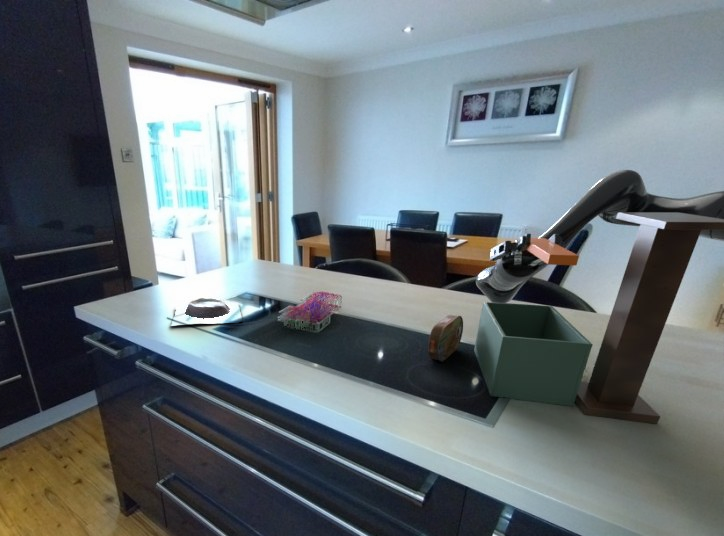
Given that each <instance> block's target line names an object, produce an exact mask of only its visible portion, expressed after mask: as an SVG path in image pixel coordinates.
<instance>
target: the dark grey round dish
mask: <svg viewBox="0 0 724 536" xmlns="http://www.w3.org/2000/svg"><path fill="white" fill-rule="evenodd" d="M225 303H226V302H224V301H223V300H221V299H217V298H204V297H200V298H197V299H193V300H190V302H189V303H188V304H187V305H188V307H187V309H186V312H185V314H186V315H189V316H191V317H197V318H203V319H204V318H214V317H219V316H223V315H225V314H228V313H229V312H230V311H229V310H230V308H229V307H228V306H227V305H226V304H225Z"/></svg>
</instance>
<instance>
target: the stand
mask: <svg viewBox="0 0 724 536" xmlns="http://www.w3.org/2000/svg"><path fill="white" fill-rule="evenodd" d="M616 219H620V220H624V221H629V222H633V223H638V224H640V227H639V226H638V229H637V233H636V236H635V239H634V243H633V246H632V247H631V252H630V255H629V258H628V261H627V264H626V267H625V270H624V273H623V276H622V279H621V282H620V285H619V288H618V292H617V294H616V298H615V301H614V304H613V306H612V307H613V308H612V310H611V314H610V316H609V319H608V322H607V326H606V329H605V332H604V335H603V338H602V341H601V345H600V348H599V350H598V353H597V356H596V360H595V363H594V366H593V369H592V372H591V375H590V378H589V381H583V380H581V383H580V386H579V389H578V393H577V396H576V399H575V401H574V403H576V405H577V407H579V409H580V410H581V412H582V413H583V415H586V416H592V417H600V418H608V419H616V420H621V421H622V420H623V421H630V422H639V423H647V424H653V425H658V423H659V421H660V419H661V415H660V414H659V413H658V412H657V411H655V410H654V409H653V408H652V406H650V405H649V404H648V403H647V402H646V401H645V399H643V398H642V396H640V395H639V393H640V392H641V388H642V386H643V383H644V381H645V378H646V376H647V373H648V370H649V368H650V365H651V362H652V359H653V357H654V354H655V351H656V349H657V347H658V344H659V342H660V339H661V336H662V334H663V332H664V329H665V326H666V323H667V321H668V318H669V316H670V313H671V310H672V307H673V305H674V302H675V300H676V298H677V294H678V292H679V290H680V287H681V284H682V282H683V279H684V277H685V274H686V271H687V269H688V266H689V263H690V261H691V259H692V256H693V254H694V251H695V248H696V245H697V242H698V240H699V238H700V236H699V235H700V232H701V230H724V219H719V218H712V217H705V216H699V215H692V214H685V213H669V212H618V214H617V217H616Z"/></svg>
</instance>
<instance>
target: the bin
mask: <svg viewBox="0 0 724 536" xmlns="http://www.w3.org/2000/svg"><path fill="white" fill-rule="evenodd" d="M593 346H594V345H593V343H592V342H590V341H589V339H587V338H586V337H585V335H583V333H581V332H580V331H579V330H578V329H577V328H576V327H575V326H574V325H573V324H572V323H571V322H569V320H567V319H566V317H564V316H563V314H561V313H560V312H559V311H558V310H557V309H556V308H555V307H554V306H553V305H542V304H528V303H526V304H525V303H513V302H512V303H510V302H508V303H495V302H491V301H483V302H482V305H481V311H480V318H479V322H478V328H477V333H476V338H475V344H474V349H473V350H474V354H475V357H476V360H477V363H478V365H479V369H480V372H481V374H482V377H483V380H484V382H485V385H486V388H487V391H488V393H489V396H490V397H494V398H495V397H496V398H503V397H506V398H505V399H511V400H518V401H519V400H521V401H527V402H535V403H543V404H551V405H558V406H559V405H560V406H568V407H574V405H575V399H576V396H577V393H578V389H579V386H580V383H581V381H583V380H582V379H583V376H584V374H585V371H586V367H587V363H588V360H589V358H590V354H591V351H592V348H593Z"/></svg>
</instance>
